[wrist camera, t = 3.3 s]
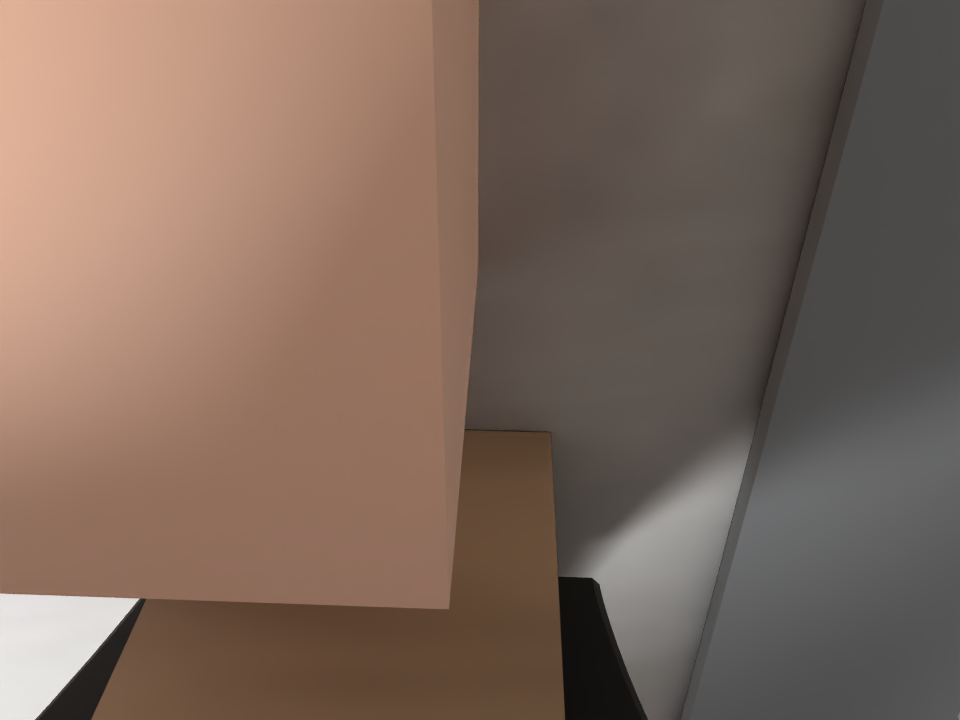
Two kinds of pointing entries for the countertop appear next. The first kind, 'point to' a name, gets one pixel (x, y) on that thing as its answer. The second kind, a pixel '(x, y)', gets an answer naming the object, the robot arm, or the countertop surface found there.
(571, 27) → the countertop surface
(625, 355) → the countertop surface
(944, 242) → the grey mat
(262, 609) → the walnut block
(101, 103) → the terracotta block
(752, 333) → the countertop surface
